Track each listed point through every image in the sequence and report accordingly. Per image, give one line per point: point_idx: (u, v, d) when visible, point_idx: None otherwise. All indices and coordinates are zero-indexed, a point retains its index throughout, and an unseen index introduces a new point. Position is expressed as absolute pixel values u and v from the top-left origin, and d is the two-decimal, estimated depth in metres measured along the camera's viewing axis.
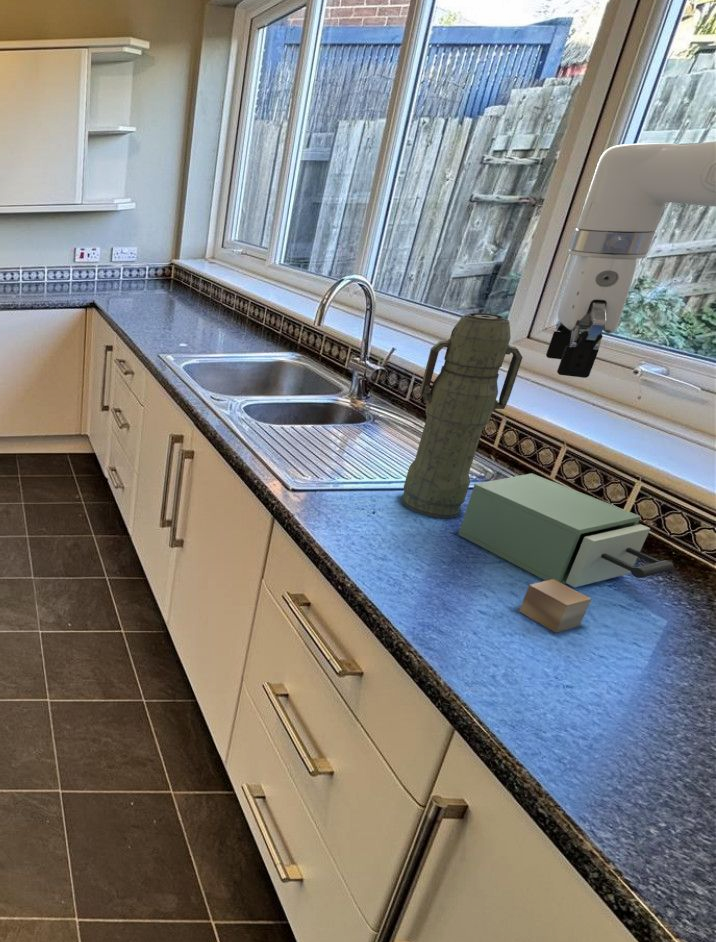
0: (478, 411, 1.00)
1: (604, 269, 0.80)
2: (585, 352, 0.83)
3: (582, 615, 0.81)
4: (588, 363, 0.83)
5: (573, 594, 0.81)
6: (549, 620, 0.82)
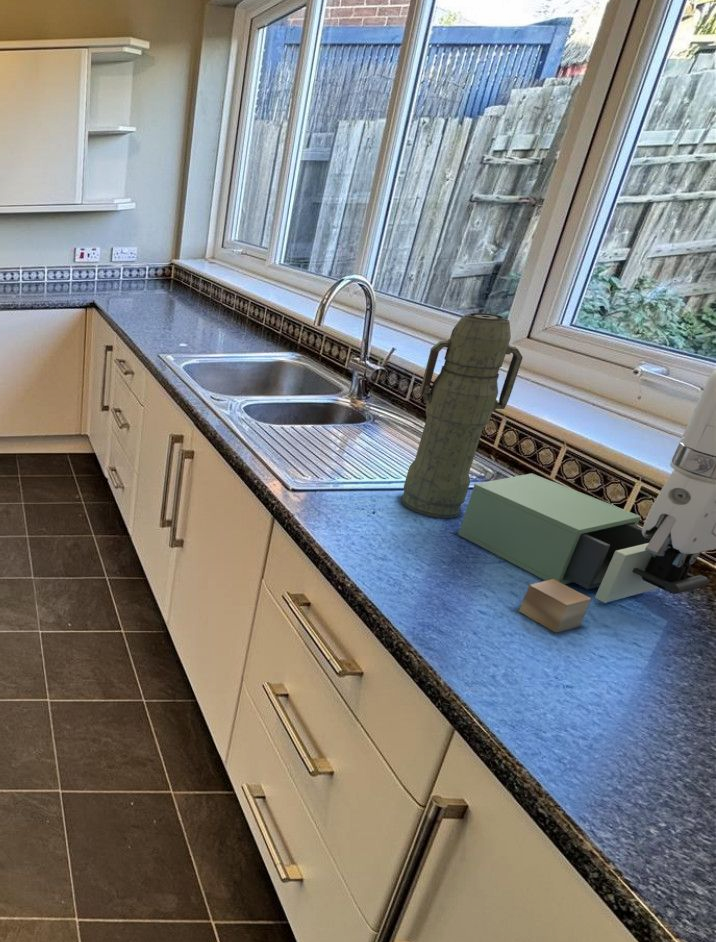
0: (479, 411, 1.00)
1: (678, 486, 0.77)
2: (665, 565, 0.82)
3: (582, 615, 0.81)
4: (672, 578, 0.82)
5: (573, 594, 0.81)
6: (549, 620, 0.82)
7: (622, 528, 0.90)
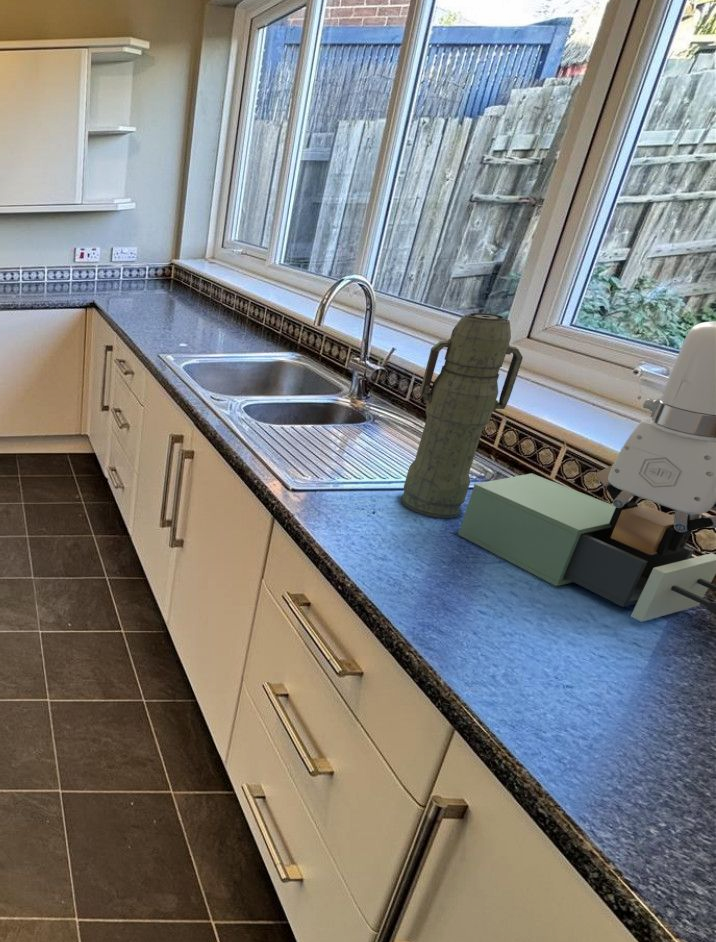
0: (479, 411, 1.00)
1: None
2: None
3: None
4: None
5: (668, 517, 0.83)
6: (644, 543, 0.83)
7: None
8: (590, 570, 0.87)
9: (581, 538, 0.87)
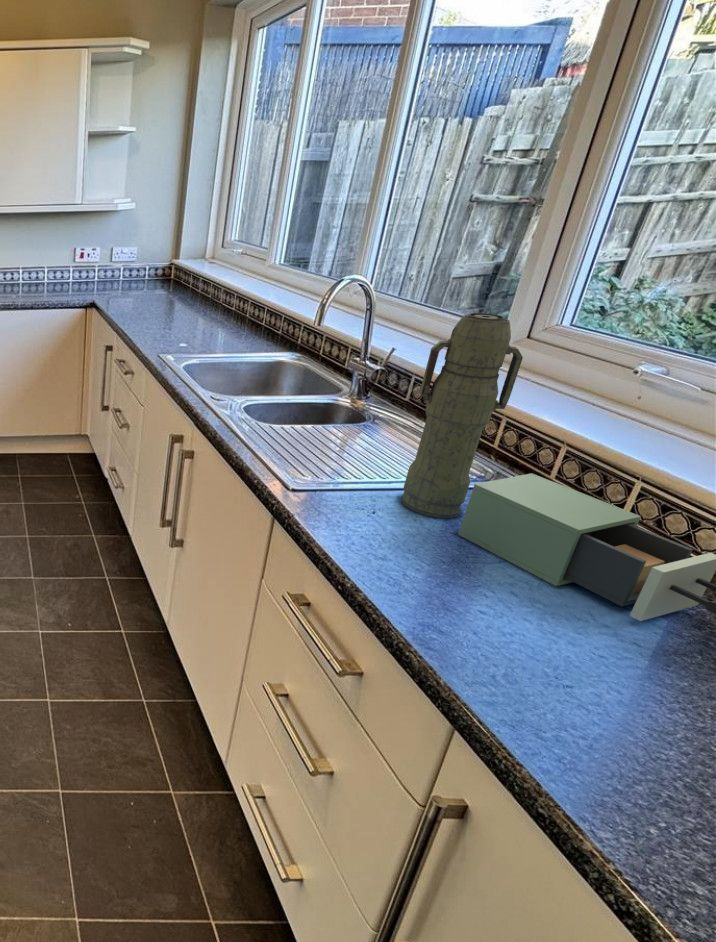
0: (479, 411, 1.00)
1: None
2: None
3: None
4: None
5: (647, 557, 0.85)
6: None
7: (656, 542, 0.87)
8: (589, 570, 0.87)
9: (580, 537, 0.88)
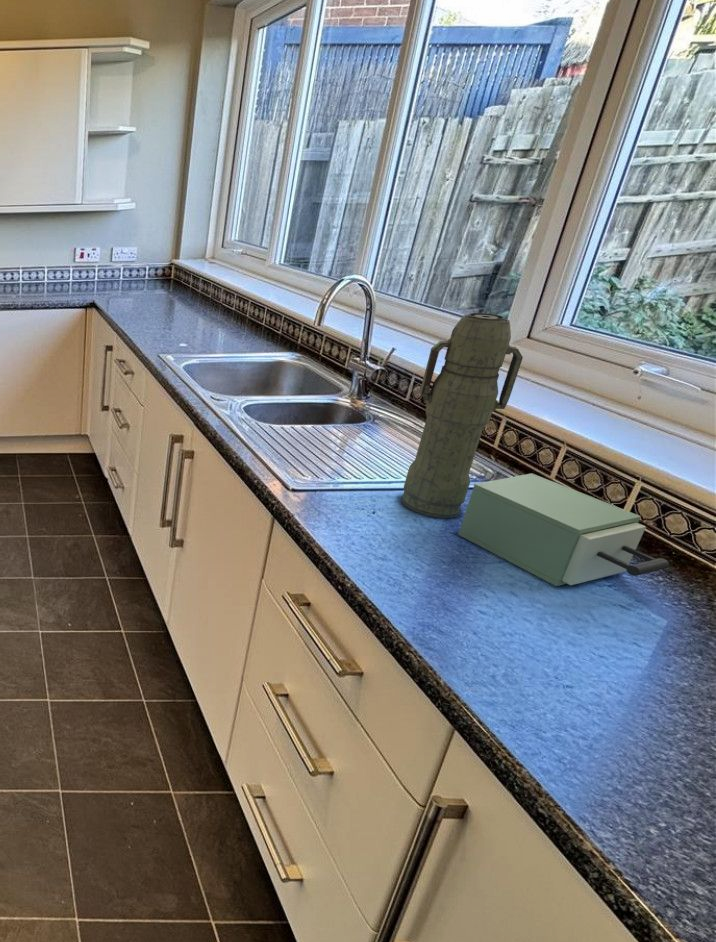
0: (479, 411, 1.00)
1: None
2: None
3: None
4: None
5: None
6: None
7: None
8: None
9: None
